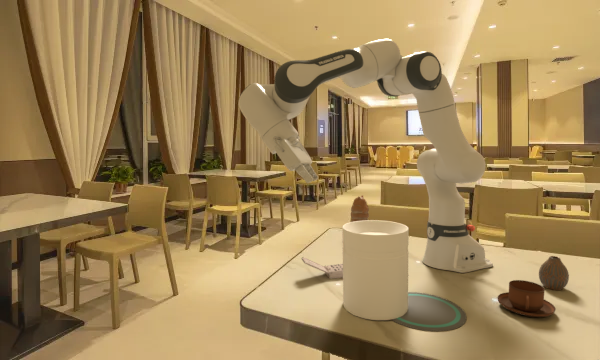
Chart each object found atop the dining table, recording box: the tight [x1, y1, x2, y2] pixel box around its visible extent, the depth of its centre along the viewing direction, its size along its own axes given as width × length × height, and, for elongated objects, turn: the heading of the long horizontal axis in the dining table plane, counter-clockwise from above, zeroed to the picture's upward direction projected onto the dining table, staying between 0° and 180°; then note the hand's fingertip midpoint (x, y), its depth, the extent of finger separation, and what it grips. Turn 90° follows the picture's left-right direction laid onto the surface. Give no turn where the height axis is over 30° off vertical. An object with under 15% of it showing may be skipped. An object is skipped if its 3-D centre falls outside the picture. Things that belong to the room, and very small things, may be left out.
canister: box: [341, 219, 410, 321], centre depth 89 cm, size 16×16×20 cm
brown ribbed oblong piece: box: [350, 194, 370, 222], centre depth 156 cm, size 9×8×18 cm
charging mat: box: [390, 291, 467, 332], centre depth 91 cm, size 20×28×2 cm
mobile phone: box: [301, 256, 343, 279], centre depth 111 cm, size 6×6×25 cm
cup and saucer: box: [497, 279, 556, 318], centre depth 87 cm, size 12×12×6 cm
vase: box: [538, 255, 570, 291], centre depth 100 cm, size 7×7×9 cm
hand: (313, 180), depth 92 cm, fingers open, 8 cm apart
